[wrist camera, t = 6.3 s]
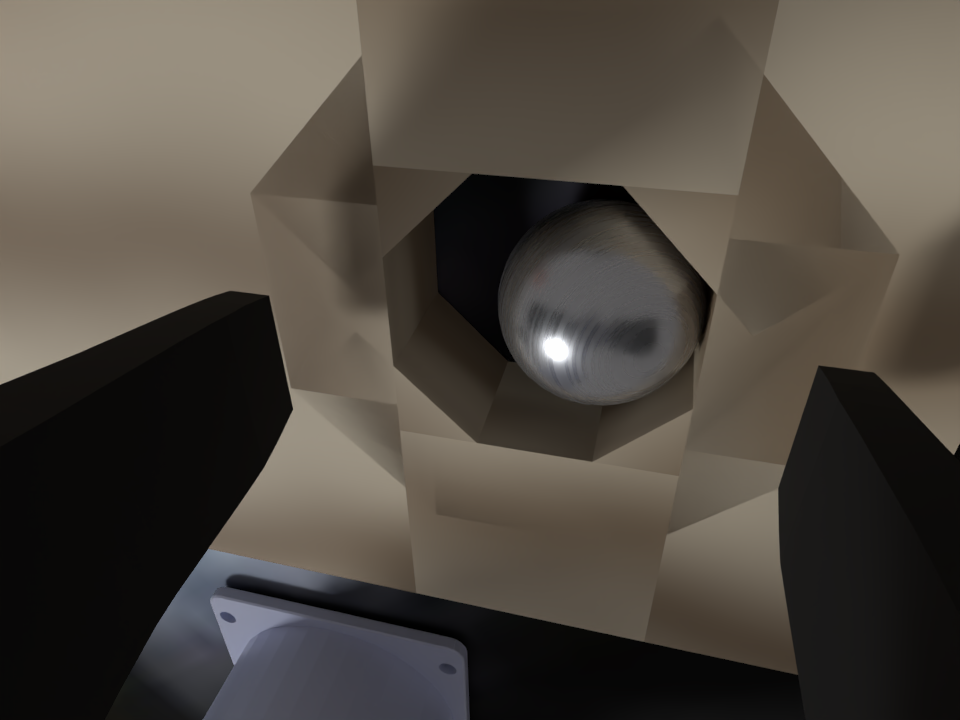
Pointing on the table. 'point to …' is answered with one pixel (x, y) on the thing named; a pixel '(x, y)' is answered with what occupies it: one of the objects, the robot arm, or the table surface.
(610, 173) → the maple board
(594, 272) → the steel ball
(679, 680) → the table surface
